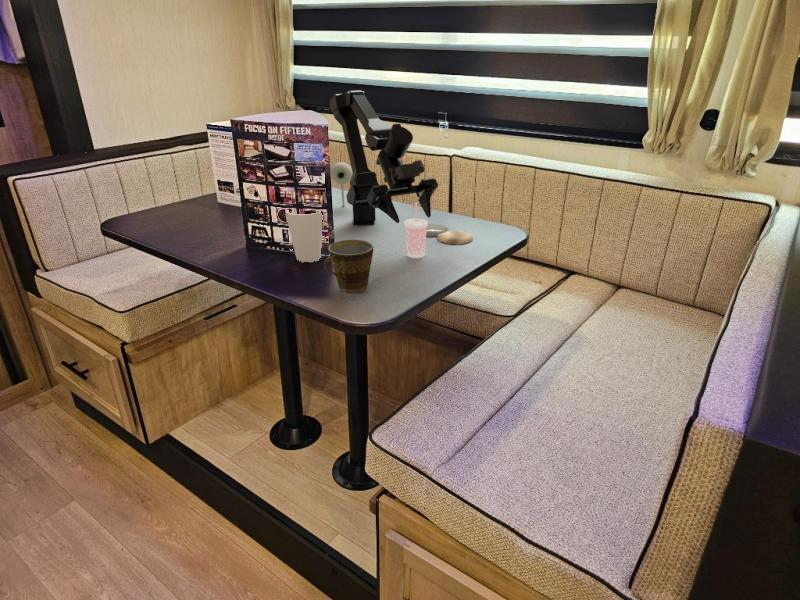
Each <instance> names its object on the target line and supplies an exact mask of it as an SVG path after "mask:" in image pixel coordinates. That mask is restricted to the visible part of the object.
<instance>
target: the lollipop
mask: <svg viewBox="0 0 800 600" xmlns="http://www.w3.org/2000/svg"><path fill="white" fill-rule="evenodd" d="M352 174H353V172H352V167H351V165H349V164H348V163H346V162H342V161H341V162H340V161H339V162H336V163H334V164H333V166H332V168H331V170H330V176H331V179H332V180H333V181H334V182H335V183H336V184H338V185H341V201H342V207H343V206H345V194H344V193H345V192H344V191H345V190H344V185H345V184H347V183H350V180H351V177H352Z"/></svg>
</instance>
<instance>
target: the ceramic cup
mask: <svg viewBox="0 0 800 600" xmlns="http://www.w3.org/2000/svg"><path fill="white" fill-rule="evenodd" d="M327 248H328V255H329V256H328V257H326V259H324V263H323V267H324V270H326V272H329V273H331V274H332V275H333V276H334V277H335V278H336V284H337V286H338V291H339V292H341V293H344V294H346V295H353V294H360V293H362V292H363V293H364V291H366V290H368V287H369V279H370V271H371V270H370V269H371V266H372V261H373V256H374V248H375V247H374V244H373V243H371V241H367V240H363V239H344V240H339V241H336V242H333V243H331V244H330V245H329V246H328V247H327ZM330 261H331V266H332V268H333V271H332V270H330V269H328V268H327V266H328V265H327V264H328V263H329V262H330Z"/></svg>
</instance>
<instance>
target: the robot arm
mask: <svg viewBox="0 0 800 600" xmlns="http://www.w3.org/2000/svg"><path fill="white" fill-rule="evenodd" d="M366 96H367V95H366V93H365V91H364V90H363V91H362V90H359V89H358V90H348V91H346V92H344V93H334V94H333V95H332V97H331V98H330V99H329V107H330V110H331V111H332V114H333V118H334V119H335V121H337V123H338V124H339V125H340V126H341V129H342V132H343V136H344V141H345V145H346V150H347V153H348V159H349V162H350V167H351V169H352V177H351V180H350V181H349V186H350V187H349V189H348V191H347V193H346V202H347V204H349V205H350V206H352V220H353V221H352V225H354V226H358V225H359V226H361V225H362V226H364V225H374V224H375V222H376V221H377V218H376V209H379V210H380V211H381V212H383V213H384V214H386V215H387V216H388V217H389V218H391V220H393V221H394V222H395V223H396V224H399V223H400V218H399V215H398V212H397V211H396V208H395V206H394V203H393V200H392V199H393V198H392V197H399V196H404V195H411V194H412V195H413V194H416V196H417V198H418V202H419V206H420V207H421V209H422V210H423V213H424V214H425V215H426V217H427V218H429V219H430V218H431V216H432V210H431V209H432V208H431V199H432V196H433V195H434V193H435V192H436V190H437V189H438V187H439V183H438V181H437V179H436V178H434V177H429V178H422V179H420V182H418V184H417V185H413V183H414V184H415V181H416V179H415V178H416V177H419V176H420V175H422V173H424V172H425V165H424V164H423V161H422V160H421V159H420V160H418V159H417V160H414V161H413V162H412V163H405V164H404V162H403V160H402V158H403V157H404V156H405V155H406V153H407V151H408V150H409V148H410V146H411V145H412V142H413V140H414V136H413V134H412V132H411V131H410V130H409V129H408V128H406V127H403V126H402V125H401V123H399V122H398V123H392V125H390V124H389V123H388V122H385V121H383V120H381V119H380V118H379V116H378V114H377V112H376V111H375V110H374V108H373V107H372V104H370V102H369V101H368V99H367V97H366ZM358 122H359V123H360V124H361V126H362V128H363V129H364V132H365V136H364V140H365V142H366V146H367V147H368V148H369V150H370V151H379V153H378V154H377V159H376V164H375V165H377V166H380V167H381V170H382V173H383V175H384V178H383V182H384V183H387V184H379V181H378V177H377V173H376V172H375V171H371V169H370V168H369V165H368V162H367V158H366V153H365V148H364V145H363V144H364V143H363V139H362V136H361V132H360V128H359V124H358ZM388 187H389V188H388Z"/></svg>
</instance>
